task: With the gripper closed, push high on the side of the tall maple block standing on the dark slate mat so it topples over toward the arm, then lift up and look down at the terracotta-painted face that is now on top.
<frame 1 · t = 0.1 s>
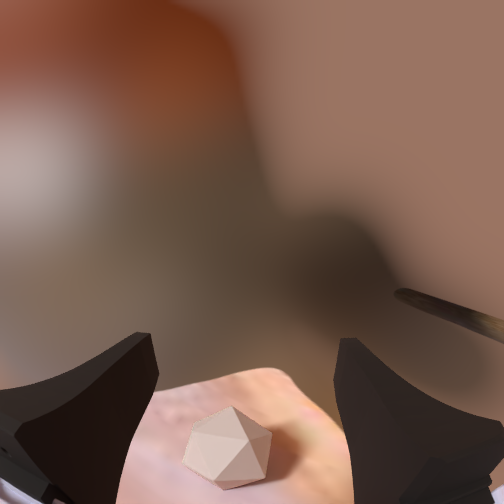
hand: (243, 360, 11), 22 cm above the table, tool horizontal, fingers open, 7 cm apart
die: (230, 471, 25), on the table
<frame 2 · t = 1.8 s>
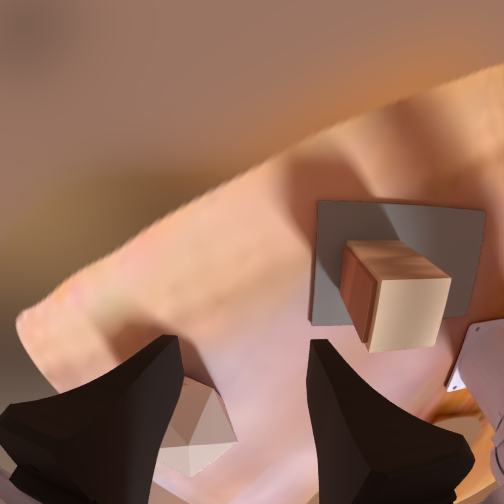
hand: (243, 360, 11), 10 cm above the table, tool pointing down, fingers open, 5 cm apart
slate mat: (406, 265, 20), on the table
maple block: (371, 268, 20), resting on slate mat
die: (191, 392, 25), on the table
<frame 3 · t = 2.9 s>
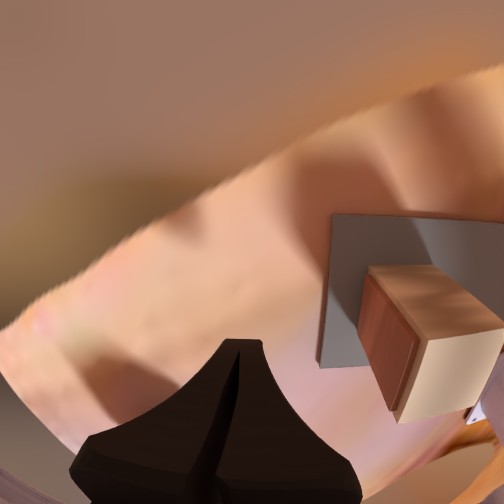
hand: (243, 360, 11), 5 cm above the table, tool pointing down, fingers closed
slate mat: (437, 294, 15), on the table
maple block: (397, 299, 15), resting on slate mat
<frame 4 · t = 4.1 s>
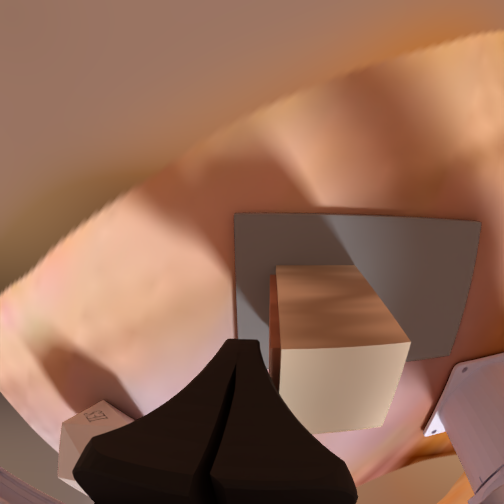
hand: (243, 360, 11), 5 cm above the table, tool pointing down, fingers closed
slate mat: (366, 297, 15), on the table
maple block: (313, 301, 15), resting on slate mat, touching gripper
die: (125, 422, 20), on the table
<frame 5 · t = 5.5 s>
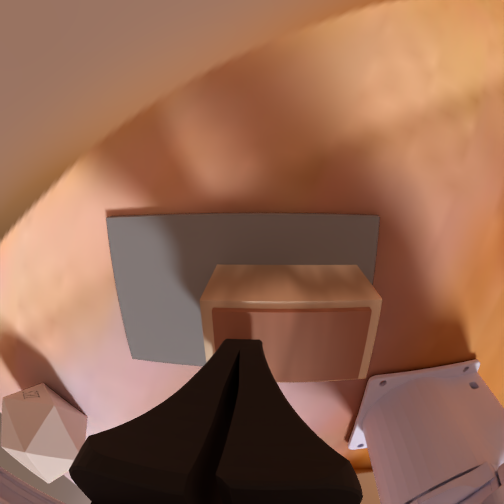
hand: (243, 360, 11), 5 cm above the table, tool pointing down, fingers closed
slate mat: (239, 297, 16), on the table
maple block: (212, 319, 14), point 2 cm above the table, tilted 90°, touching slate mat
die: (63, 405, 21), on the table
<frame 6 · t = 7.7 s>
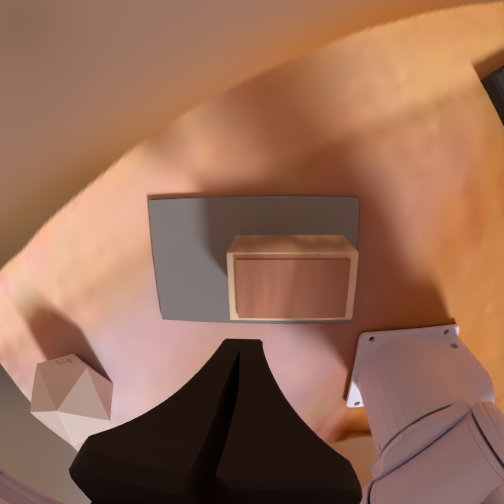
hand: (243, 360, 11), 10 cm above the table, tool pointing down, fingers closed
slate mat: (252, 262, 21), on the table
maple block: (233, 274, 18), point 2 cm above the table, tilted 90°, touching slate mat
die: (90, 374, 26), on the table
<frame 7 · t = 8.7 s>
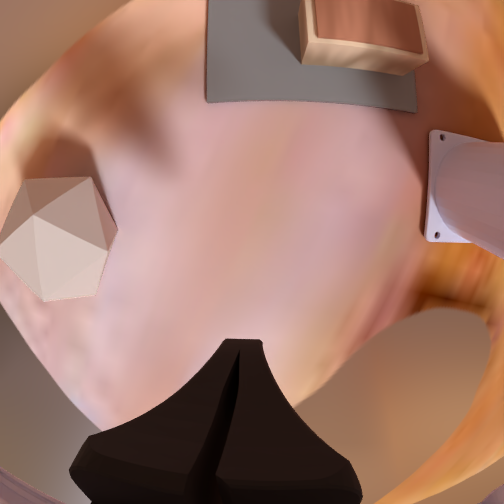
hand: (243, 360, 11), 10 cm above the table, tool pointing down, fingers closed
slate mat: (314, 41, 16), on the table
maple block: (302, 26, 14), point 2 cm above the table, tilted 90°, touching slate mat
die: (88, 225, 21), on the table
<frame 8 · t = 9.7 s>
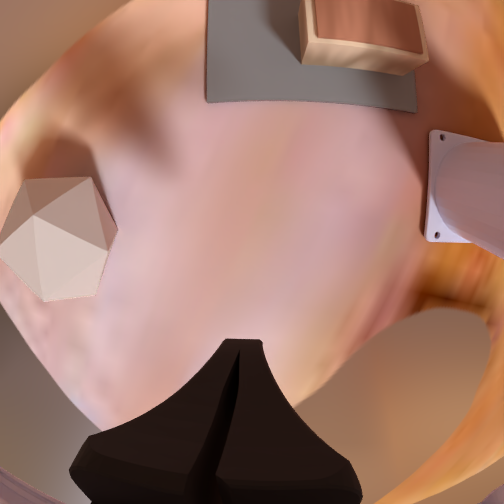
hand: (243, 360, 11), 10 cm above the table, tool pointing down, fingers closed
slate mat: (314, 41, 16), on the table
maple block: (302, 26, 14), point 2 cm above the table, tilted 90°, touching slate mat
die: (88, 225, 21), on the table
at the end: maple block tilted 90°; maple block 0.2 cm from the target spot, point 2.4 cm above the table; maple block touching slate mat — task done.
